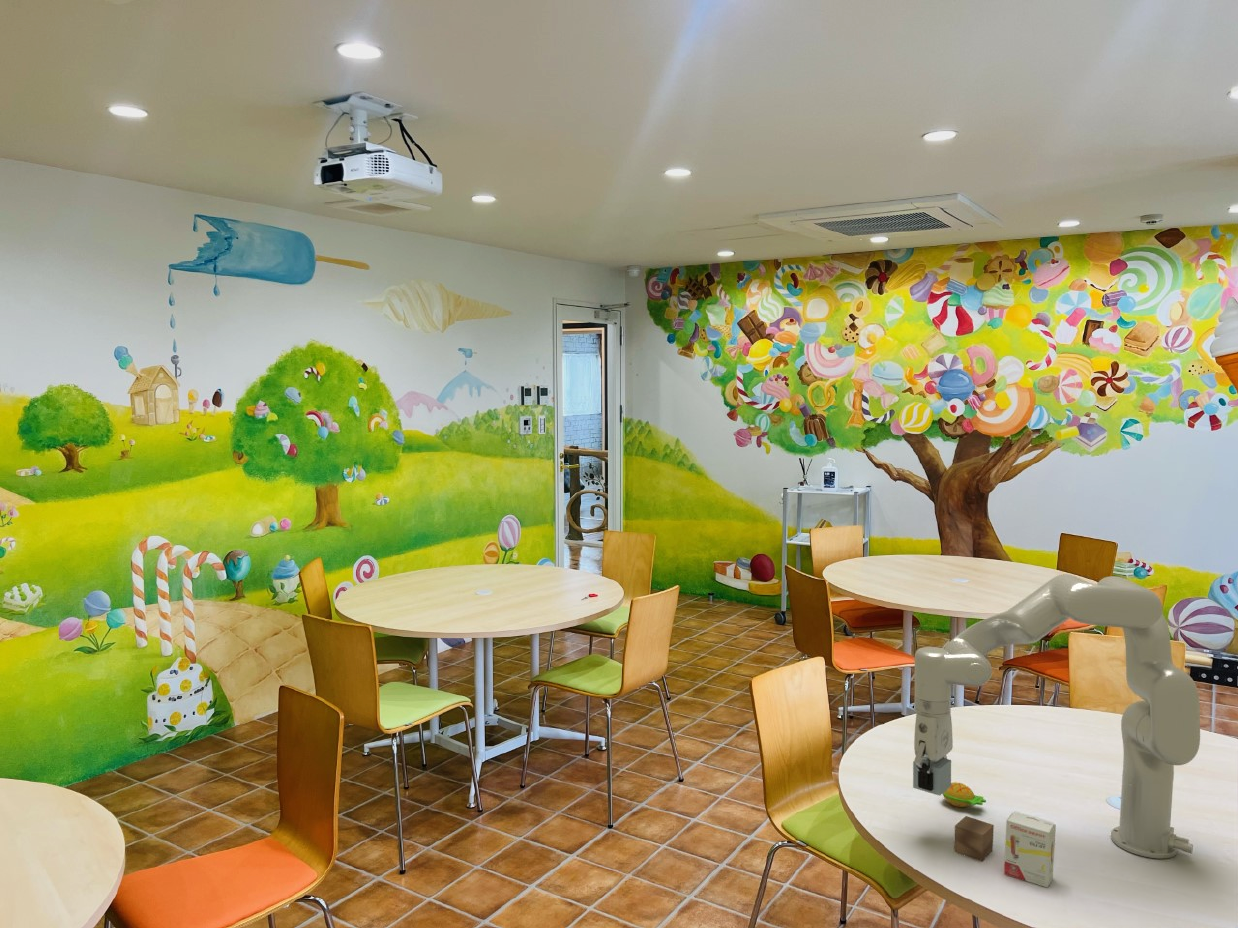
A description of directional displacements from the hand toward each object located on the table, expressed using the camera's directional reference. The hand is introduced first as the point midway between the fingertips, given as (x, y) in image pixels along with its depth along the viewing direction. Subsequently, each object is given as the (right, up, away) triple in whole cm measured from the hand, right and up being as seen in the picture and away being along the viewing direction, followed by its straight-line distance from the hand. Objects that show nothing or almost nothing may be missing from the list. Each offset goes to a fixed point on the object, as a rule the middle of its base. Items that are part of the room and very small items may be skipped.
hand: (932, 782), depth 197 cm
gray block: (0, -1, 0) cm, 1 cm away
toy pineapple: (+13, -12, +16) cm, 23 cm away
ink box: (+15, -14, -15) cm, 25 cm away
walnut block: (+7, -13, -5) cm, 16 cm away
